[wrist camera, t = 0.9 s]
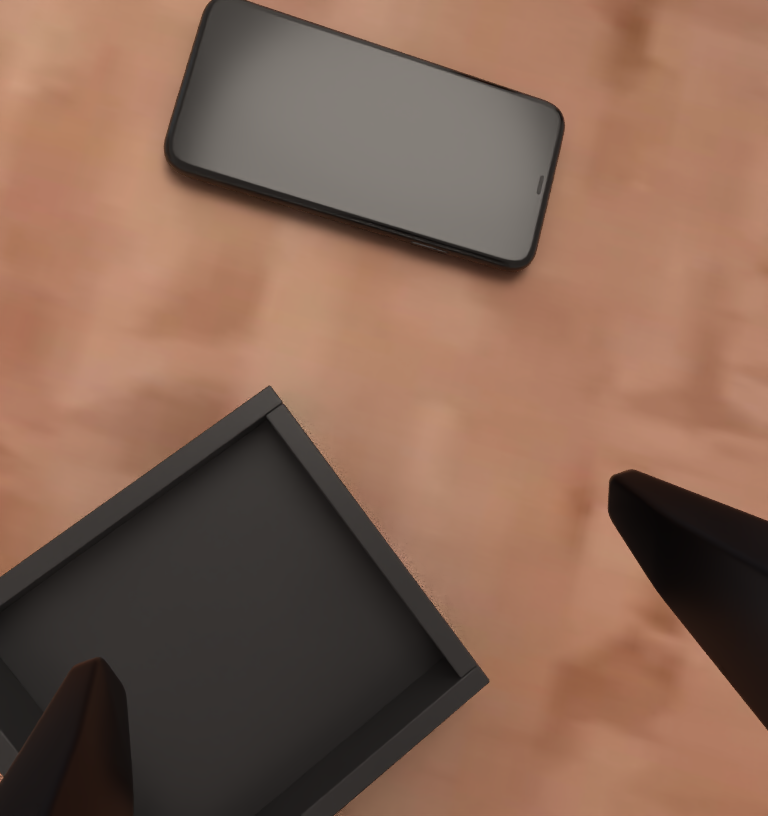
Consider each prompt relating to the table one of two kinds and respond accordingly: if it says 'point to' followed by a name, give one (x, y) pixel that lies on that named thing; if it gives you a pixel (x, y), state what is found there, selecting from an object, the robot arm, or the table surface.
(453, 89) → the smartphone
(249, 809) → the black tray
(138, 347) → the table surface
